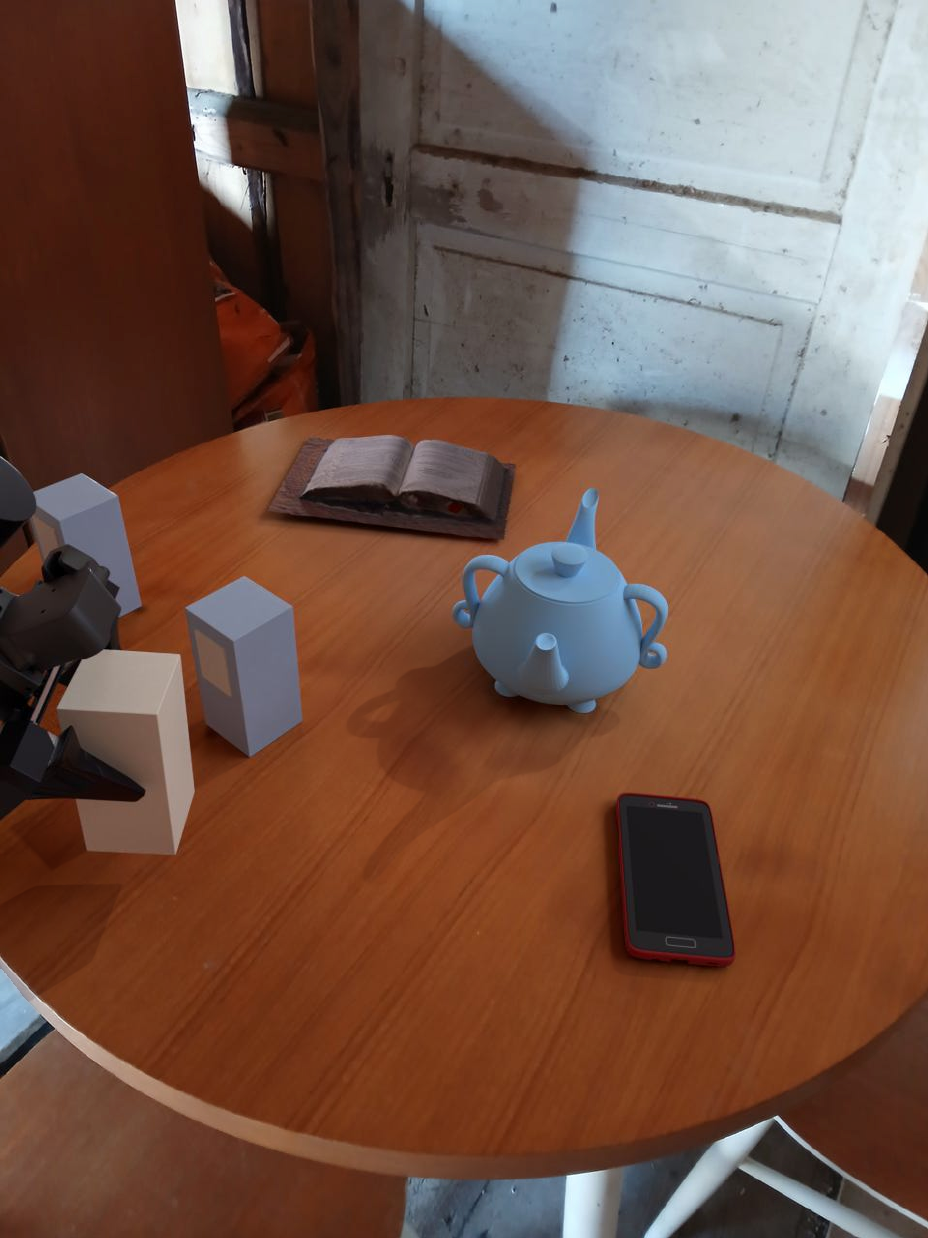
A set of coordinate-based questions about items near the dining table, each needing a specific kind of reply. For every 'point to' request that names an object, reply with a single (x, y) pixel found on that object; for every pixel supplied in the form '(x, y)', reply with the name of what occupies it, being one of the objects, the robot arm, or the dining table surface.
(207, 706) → the block right
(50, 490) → the block left
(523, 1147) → the dining table surface
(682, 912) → the cell phone
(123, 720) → the cream block
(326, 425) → the dining table surface
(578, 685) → the teapot
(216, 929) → the dining table surface
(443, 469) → the book
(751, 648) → the dining table surface
